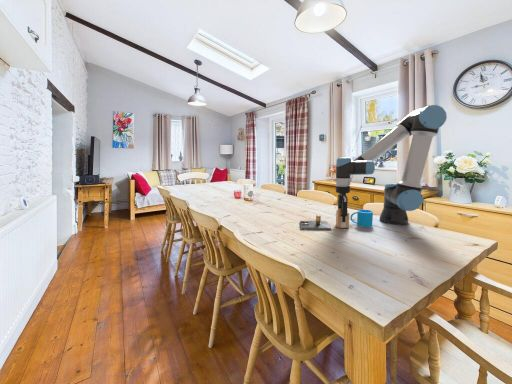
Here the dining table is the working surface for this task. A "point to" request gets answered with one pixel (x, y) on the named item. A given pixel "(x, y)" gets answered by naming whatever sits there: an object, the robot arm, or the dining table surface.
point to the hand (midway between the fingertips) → (341, 225)
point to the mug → (363, 218)
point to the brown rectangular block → (338, 218)
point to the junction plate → (315, 224)
